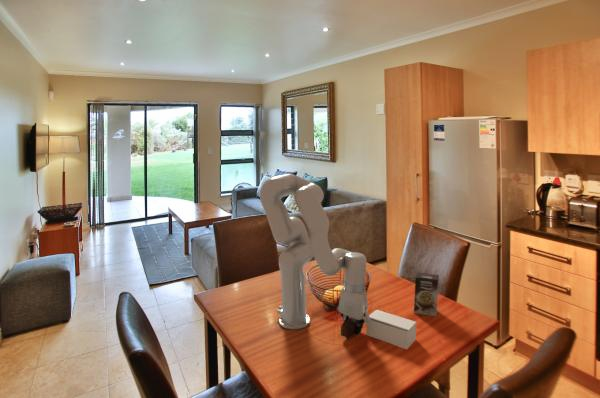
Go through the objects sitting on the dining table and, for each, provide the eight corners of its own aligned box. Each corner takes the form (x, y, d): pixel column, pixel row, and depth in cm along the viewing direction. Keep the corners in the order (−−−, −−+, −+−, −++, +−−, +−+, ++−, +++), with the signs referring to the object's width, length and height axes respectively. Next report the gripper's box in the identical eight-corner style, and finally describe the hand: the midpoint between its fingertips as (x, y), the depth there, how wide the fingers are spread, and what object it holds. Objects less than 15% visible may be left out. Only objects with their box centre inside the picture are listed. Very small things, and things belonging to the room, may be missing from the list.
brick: (349, 339, 132) (350, 327, 131) (340, 335, 134) (340, 324, 133) (363, 327, 140) (364, 316, 139) (354, 324, 142) (355, 313, 141)
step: (366, 334, 137) (366, 316, 136) (376, 326, 143) (376, 308, 142) (406, 349, 127) (407, 330, 126) (415, 339, 133) (416, 321, 132)
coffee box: (413, 313, 153) (414, 277, 150) (414, 306, 158) (416, 271, 156) (436, 317, 149) (438, 280, 146) (437, 310, 155) (438, 274, 152)
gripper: (329, 283, 136) (328, 327, 139) (369, 296, 125) (367, 344, 129) (340, 277, 142) (339, 320, 145) (379, 289, 131) (377, 335, 135)
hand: (352, 331), depth 137 cm, fingers closed on brick, 4 cm apart
